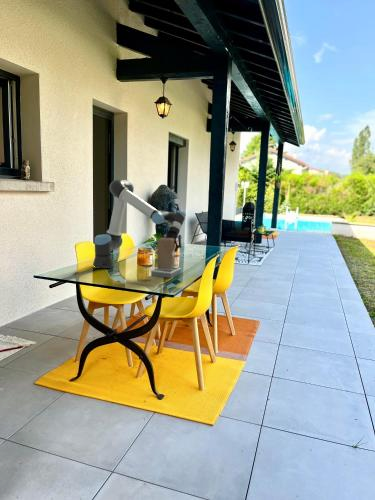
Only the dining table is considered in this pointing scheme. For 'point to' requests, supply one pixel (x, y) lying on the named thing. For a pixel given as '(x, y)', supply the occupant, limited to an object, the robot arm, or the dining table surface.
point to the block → (165, 253)
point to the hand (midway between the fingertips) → (164, 254)
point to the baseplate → (166, 272)
